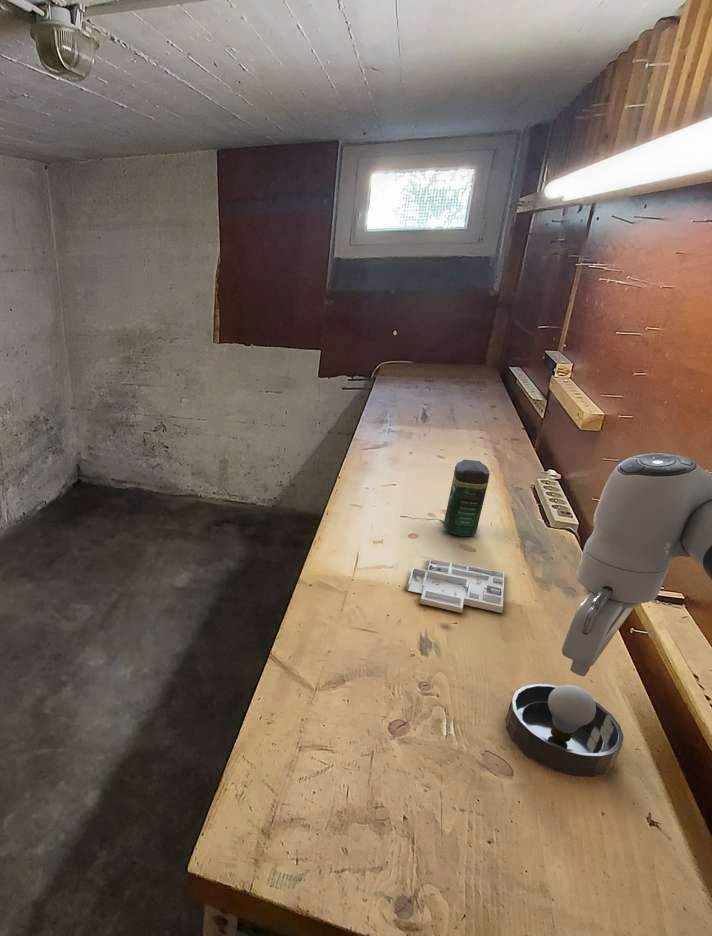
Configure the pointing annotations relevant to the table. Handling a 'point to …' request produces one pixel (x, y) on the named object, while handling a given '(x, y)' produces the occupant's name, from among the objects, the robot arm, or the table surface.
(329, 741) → the table surface
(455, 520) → the coffee jar
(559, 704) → the light bulb
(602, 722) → the bowl
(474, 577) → the floor plan model
